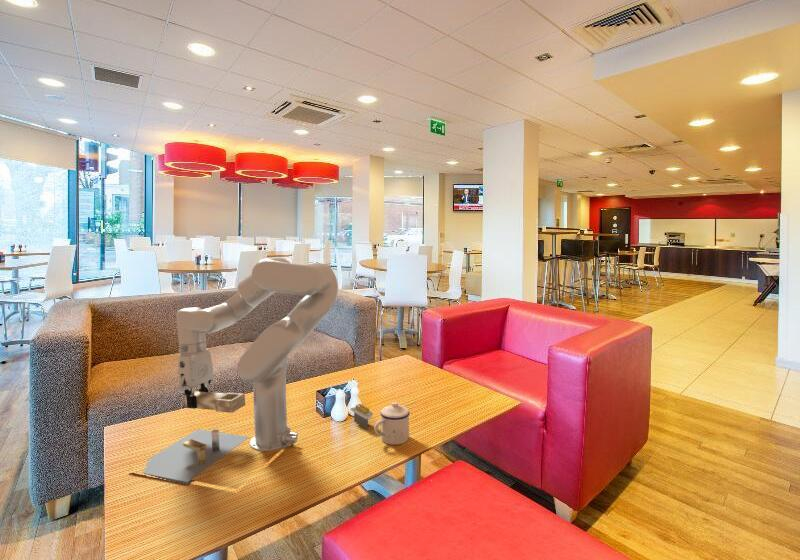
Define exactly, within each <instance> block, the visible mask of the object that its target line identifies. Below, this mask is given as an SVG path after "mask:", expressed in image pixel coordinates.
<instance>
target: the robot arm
mask: <svg viewBox="0 0 800 560" xmlns="http://www.w3.org/2000/svg"><path fill="white" fill-rule="evenodd" d="M251 270H252V271H251V273H250V274H249V275H248V276H246V277H245V278H244V279H242V280H241V281H240V282H238V284H237V286H236V287H237V292H236V293H235V294H233V295H232V296H231V297H230V298H228V299H227V300H225V301H224V302H222V303H220V304H217V305H214V306H210V307H207V308H203V309H202V308H201V307H198V306H197V307H195V306H194V307H186V308H185V307H184V308H180V309H179V310H177V312H176V327H177V328H176V329H177V337H178V347H179V348H178V349H177V352H178V353H179V355H178V362H177V365H178V366H177V375H178V386H177V389H176V392H178V393H181V394H182V395H184V396H186V399H187V407H188V408H187V409H194V410H195V409H197V401H196V395H194V393H195V391H196V390H195V389H196V387H197V386H198V387H199V389H198V391H199V392H209V389H210V388H211V387H210V384H211V382H212V379H213V378H214V377H215V373H214V366H213V365H214V364H213V359H212V356H211V355H212V354H211V352H210V349H209V348H207V347H208V346H207V337H206V335H207V334H213V333H216V332H218V331H221V330H223V329H226V328H229V327H230V326H233V325H234V324H236V323H237V322H239V321H240V320H242V319H243V318H244V317H246V316H247V315H248V314H249V313H251V312H252V311H253V310H254V309H255V308H257V306H258V305H259V304H261V303H262V302H263V301H265V300H267V299H268V298H269V297H271V296H272V295H273V294H275V293H283V294H288V295H294V296H302V297H303V298H302V299H300V300H299V302H297V304H296V305H294V307H293V309H292V310H291V311H290V312H289V313H288V314H287V315H286V316H284V318H282V319H280V320H277V321H276V322H274V323H272V324H271V325H270V324H269V326H267V327H266V328H265V329H264V330H263V331H262V332H261V333H260V334H259V335H258V336H257V338H255V340H254V341H253V342H252V343H251V344H250V345H249V346H248V348H247V349H246V350H245V352H243V354H241V357H240V358H239V360H238V364H237V373H238V376H239V377H240V379H241V380H242V381H243V382H245V383H248V384H252V385H253V390H252V391H253V397H252V399H253V420H254V421H253V422H254V423H253V424H254V436H253V437H252V438H251V439H250V441H249V446H250V447H251V448H252V449H253V450H255V451H260V452H269V451H276V450H280V451H282V450H283V449H286V448H287V447H289V446H290V445H291V444H296V443H297V442H298V437H299V434H298V432H292V430H291V426H288V418H287V415H288V413H287V411H288V410H287V371H288V369H287V368H288V361H289V360H288V359H289V358H288V356H289V355H290V354H291V353H292V352H294V351H295V350H297V349H298V348H299V347H300V346H301V345H302V344H303V343H304V342H305V340H306V339H307V338H308V336H309V335H310V334H311V333H312V332H313V331H314V330H315V329H316V328H317V326H318V325H319V324H320V322H321V321H322V320H323V319H324V318H325V316H326V315H327V314H328V313H329V312H330V310H331V309H332V307H333V305H334V304H335V301H336V299H337V295H338V289H339V287H338V285H339V284H338V279H337V276H336V273H335V272H334V270H333V269H332V268H331V267H330V266H329V265H327V264H324V263H321V262H316V263H315V262H314V263H308V264H298V263H291V262H290V261H289V260H288V259H286V258H284V257H279V256H278V257H268V258H267V257H266V258H263V259H260V260H259V261H258V262H256V263H255V265H254V266H253V267H252V269H251Z"/></svg>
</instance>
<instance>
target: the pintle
mask: <svg viewBox="0 0 800 560" xmlns="http://www.w3.org/2000/svg"><path fill="white" fill-rule="evenodd" d="M210 431H211V435H212V451H213V452H216V451H219V450H220V445H219V432H220V430H219V429H213V430H210Z"/></svg>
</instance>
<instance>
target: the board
mask: <svg viewBox="0 0 800 560" xmlns="http://www.w3.org/2000/svg"><path fill="white" fill-rule="evenodd" d="M211 431H212V430H207V429H206V430H205V429H200V428H199V429H195V431H192V432H191V433H189V434H187V435H186V436H184V437H182V438H181V439H179V440H177V441H176V442H174V443H172V444H170V445H169V446H168V447H166V448H164V449H162V450H161V451H159V452H157V453H156V454H154V455H152V456H151V457H152V458H151V457H149V458H150V459H151V460H150V459H149V458H147V459H148V460H149V461H150V462H149V461H148V462H147V465H146V466H147V468H146V466H145V468H146V469H145V468H144V470H145V471H144V470H143V471H144V472H142V473H144V474H148V475H151V476H155V477H158V478H162V479H166V480H170V481H169V482H171V481H175V482H174V483H176V482H178V483H177V484H181V483H182V484H181V485H187V486H189V485H190V484H192V483H193V482H194V481H195V479H194V478H196V477H197V476H198V475H201V473H203V472H204V471H206V469H208V468H209V467H211V466H212V465H214V464H215V463H216V462H217V461H219V460H220V459H222V458H223V457H224V456H226V455H228V453H230V452H231V451H232V450H234V449H236V448H237V447H238V446H239V445H241V444H242V443H244V442H245V441H246V440H248V439H249V438H250V437H249V436H246V435H245V436H244V435H239V434H232V433H225V432H220V431H219V445H220V450H219V451H216V452H213V451H212V435H211ZM190 439H192V440H195V441H198V442H201V443H203V444H206V445H207V448H206V449H205V455H206V463H205V464H203V465H199V464H198V454H197V451H195V450H192V449H190V448H187V447H184V446H183V443H184V442H186V441H188V440H190ZM143 466H144V465H143ZM141 470H142V469H141ZM166 480H165V481H166ZM191 482H192V483H191Z"/></svg>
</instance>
